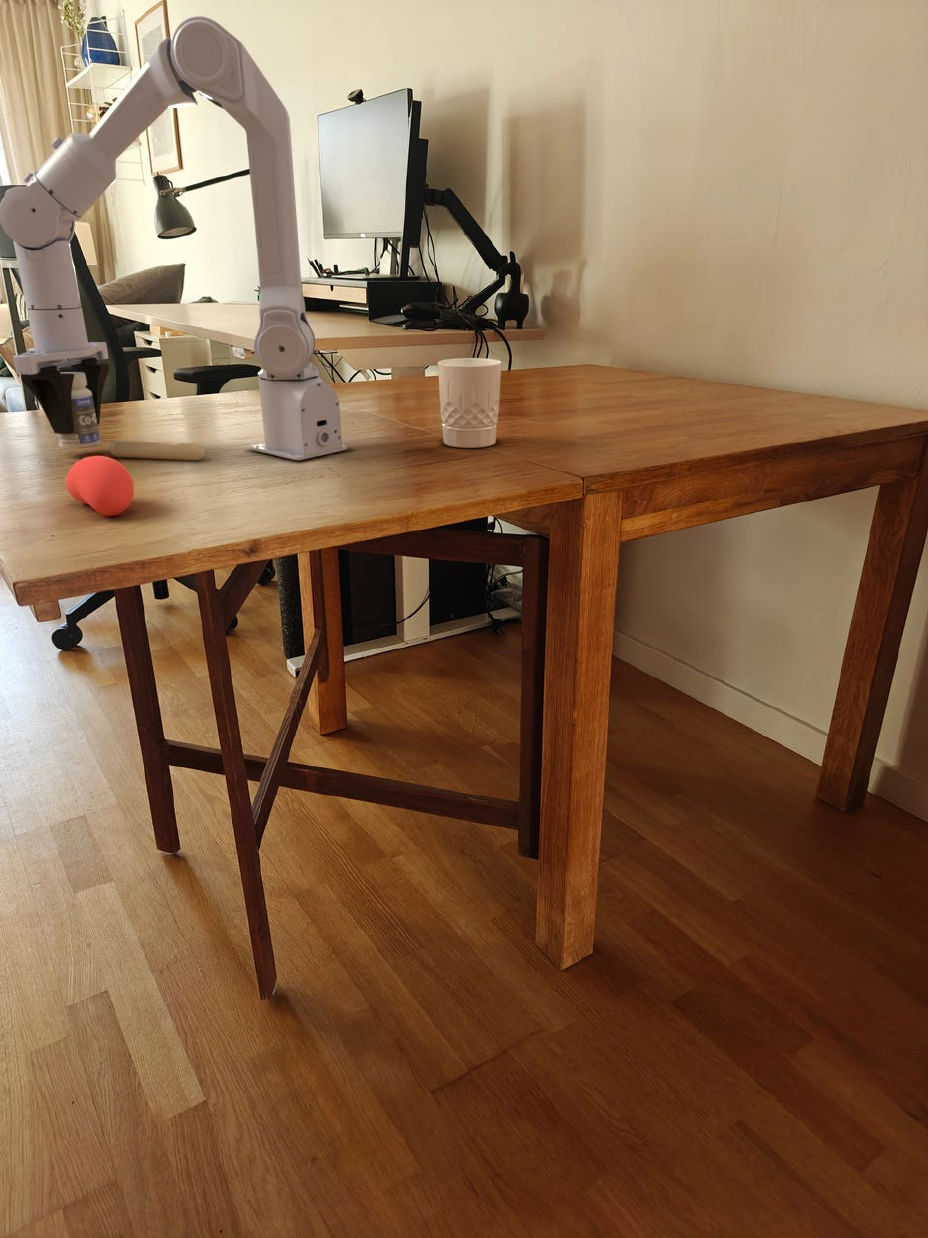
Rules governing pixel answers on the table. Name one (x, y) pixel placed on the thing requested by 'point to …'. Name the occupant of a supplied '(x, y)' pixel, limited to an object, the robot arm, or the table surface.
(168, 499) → the table surface
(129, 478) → the stress ball
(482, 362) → the white cup
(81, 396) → the pill bottle
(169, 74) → the robot arm
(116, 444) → the dowel
